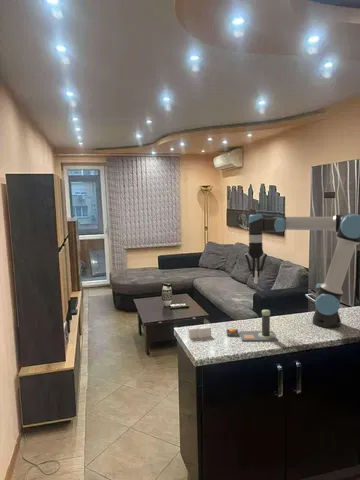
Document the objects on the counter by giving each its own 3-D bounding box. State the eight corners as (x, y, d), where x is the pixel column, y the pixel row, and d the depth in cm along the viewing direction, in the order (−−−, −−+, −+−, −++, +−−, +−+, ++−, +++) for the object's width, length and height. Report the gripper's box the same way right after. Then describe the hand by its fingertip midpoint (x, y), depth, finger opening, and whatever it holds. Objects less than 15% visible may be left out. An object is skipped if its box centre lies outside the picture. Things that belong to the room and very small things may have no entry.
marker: (269, 333, 187) (269, 309, 186) (270, 336, 183) (270, 312, 182) (261, 333, 187) (261, 309, 186) (262, 336, 183) (262, 312, 182)
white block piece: (215, 334, 191) (215, 324, 190) (209, 342, 180) (209, 332, 180) (189, 332, 196) (188, 322, 196) (182, 339, 186) (181, 329, 185)
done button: (235, 332, 192) (235, 328, 192) (236, 335, 188) (236, 331, 188) (228, 332, 192) (228, 328, 192) (229, 335, 188) (229, 331, 188)
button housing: (237, 331, 193) (237, 329, 193) (238, 336, 187) (238, 333, 187) (226, 332, 193) (226, 329, 193) (227, 336, 187) (227, 333, 187)
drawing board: (273, 332, 191) (273, 330, 191) (278, 341, 179) (278, 339, 179) (239, 332, 192) (239, 330, 192) (242, 341, 180) (242, 339, 180)
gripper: (244, 243, 196) (245, 284, 198) (268, 242, 195) (268, 284, 197) (243, 241, 203) (243, 281, 206) (266, 240, 202) (266, 281, 205)
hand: (255, 282), depth 202 cm, fingers closed
